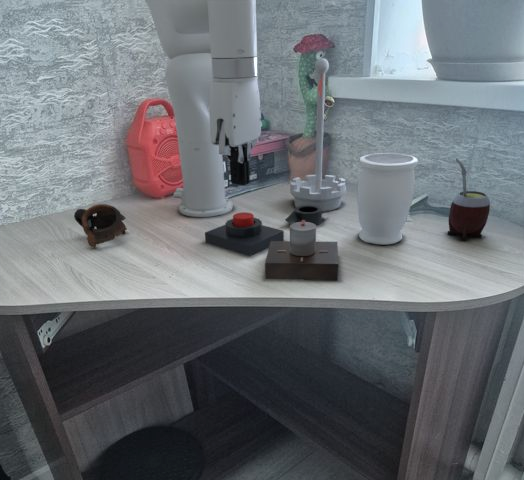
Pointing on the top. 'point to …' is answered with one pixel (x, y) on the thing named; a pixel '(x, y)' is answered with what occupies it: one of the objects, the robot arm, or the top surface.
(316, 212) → the black wing nut
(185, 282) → the top surface
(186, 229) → the top surface
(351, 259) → the top surface
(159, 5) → the robot arm
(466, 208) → the mate gourd
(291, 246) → the dial
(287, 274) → the dial panel
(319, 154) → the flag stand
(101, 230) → the rusty brown ring housing
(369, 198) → the jar
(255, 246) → the button block
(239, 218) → the button
